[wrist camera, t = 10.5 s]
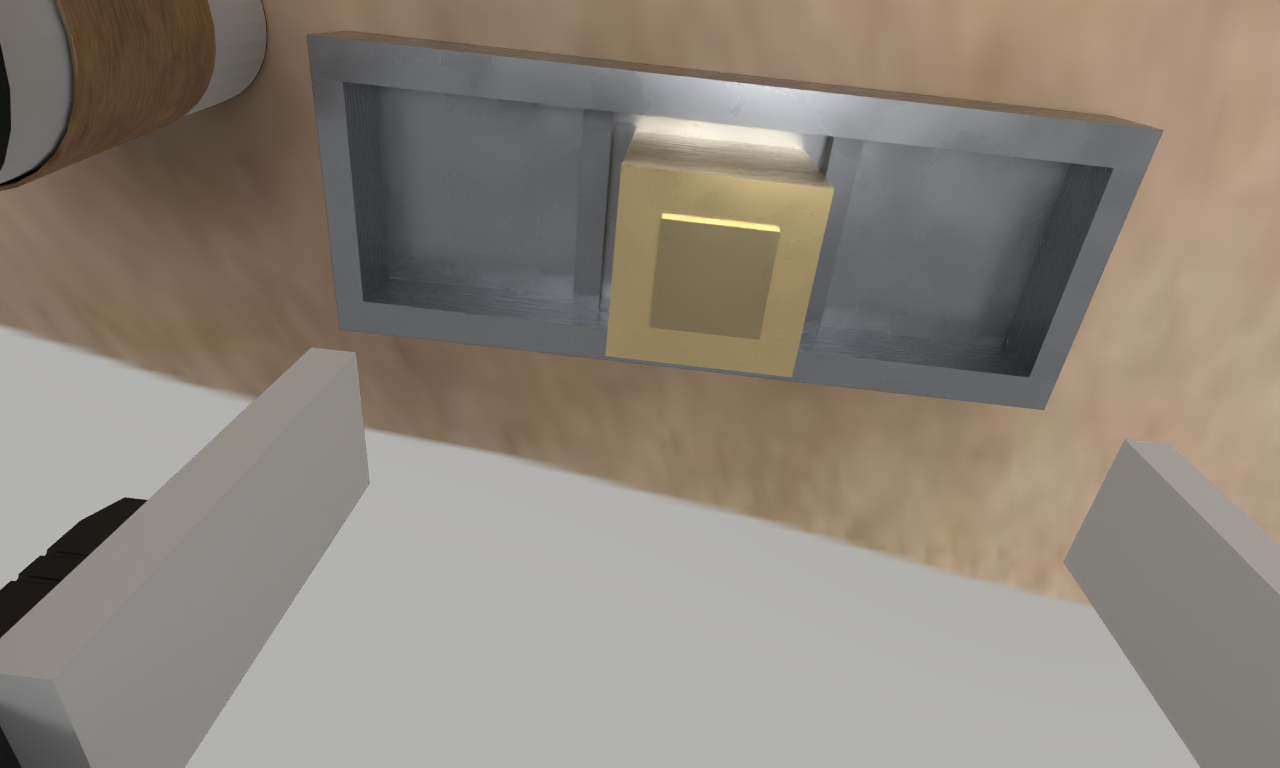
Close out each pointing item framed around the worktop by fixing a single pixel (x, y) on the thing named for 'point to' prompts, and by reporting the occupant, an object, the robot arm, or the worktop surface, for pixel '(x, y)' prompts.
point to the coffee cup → (113, 73)
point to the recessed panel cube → (715, 252)
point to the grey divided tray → (731, 111)
